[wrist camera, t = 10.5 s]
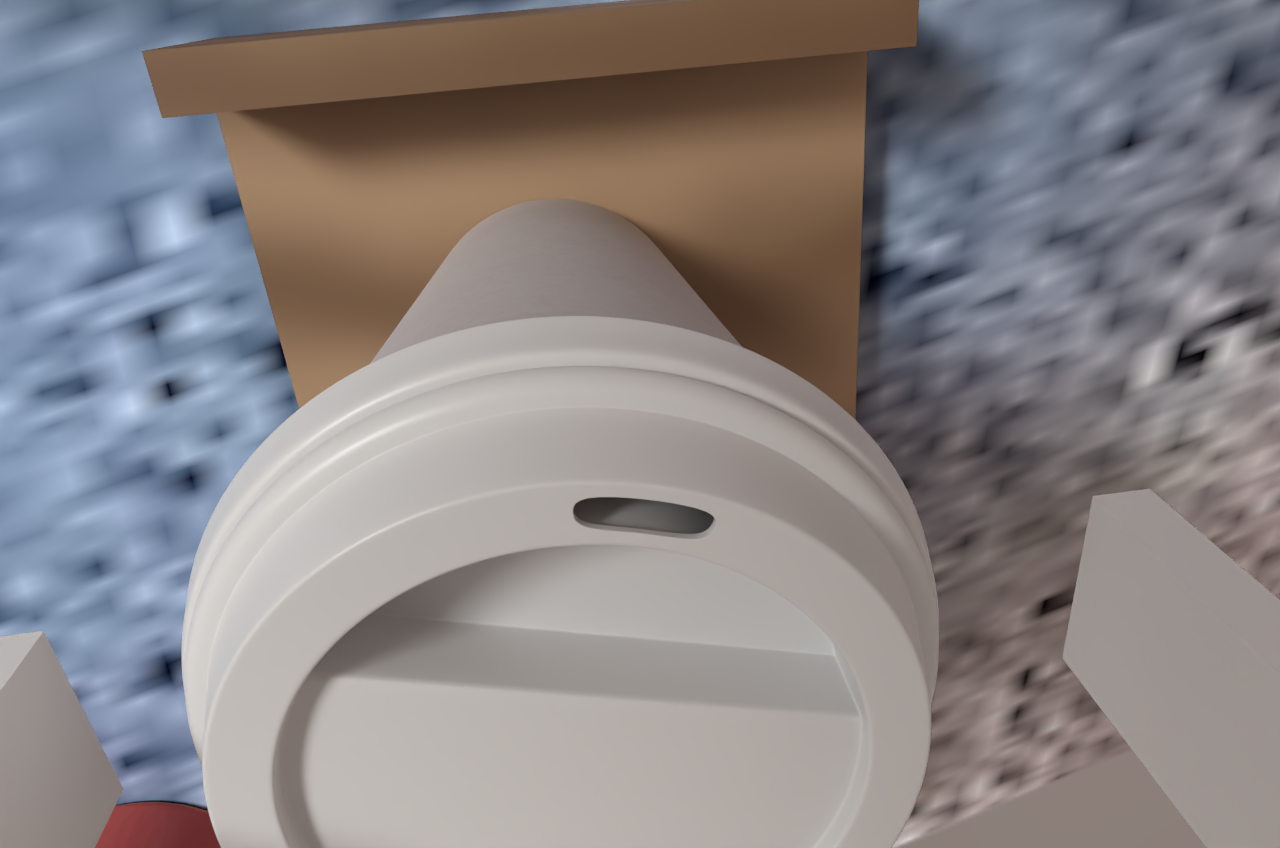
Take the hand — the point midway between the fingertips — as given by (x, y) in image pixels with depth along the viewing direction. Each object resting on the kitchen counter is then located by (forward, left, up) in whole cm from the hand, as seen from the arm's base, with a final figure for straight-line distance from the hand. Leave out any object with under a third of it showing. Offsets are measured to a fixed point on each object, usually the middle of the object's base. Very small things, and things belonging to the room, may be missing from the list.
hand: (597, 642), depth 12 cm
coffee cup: (0, 0, -13) cm, 13 cm away
